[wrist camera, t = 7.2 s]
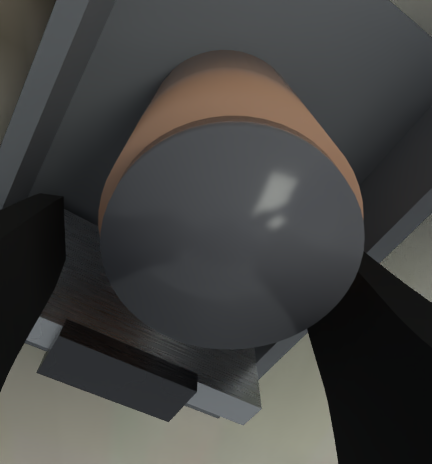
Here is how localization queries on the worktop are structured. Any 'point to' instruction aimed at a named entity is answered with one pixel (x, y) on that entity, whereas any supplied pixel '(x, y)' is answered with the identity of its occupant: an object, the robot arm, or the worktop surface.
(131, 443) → the worktop surface
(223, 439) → the worktop surface
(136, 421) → the worktop surface
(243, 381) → the pusher plate
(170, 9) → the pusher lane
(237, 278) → the jar
